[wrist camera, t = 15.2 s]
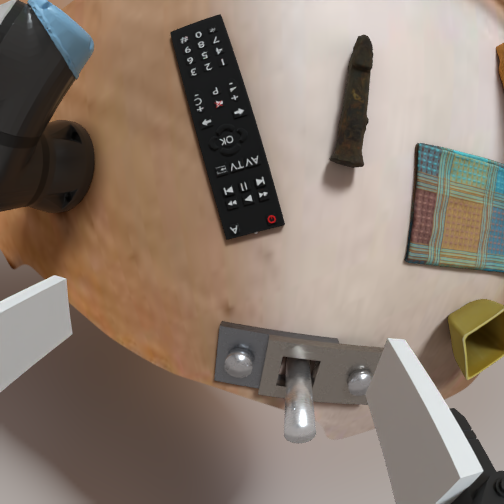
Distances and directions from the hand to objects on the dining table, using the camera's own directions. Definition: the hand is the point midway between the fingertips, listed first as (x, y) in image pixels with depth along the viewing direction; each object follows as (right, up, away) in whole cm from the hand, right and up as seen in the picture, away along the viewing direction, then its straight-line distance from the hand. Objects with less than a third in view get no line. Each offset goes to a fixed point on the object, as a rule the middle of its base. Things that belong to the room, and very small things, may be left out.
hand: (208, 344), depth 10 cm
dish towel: (+35, +9, +24) cm, 44 cm away
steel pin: (+8, -13, +32) cm, 35 cm away
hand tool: (+14, +23, +23) cm, 36 cm away
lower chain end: (+5, -13, +32) cm, 35 cm away
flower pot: (+35, -8, +28) cm, 46 cm away
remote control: (-2, +21, +26) cm, 33 cm away
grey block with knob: (+12, -14, +31) cm, 36 cm away
